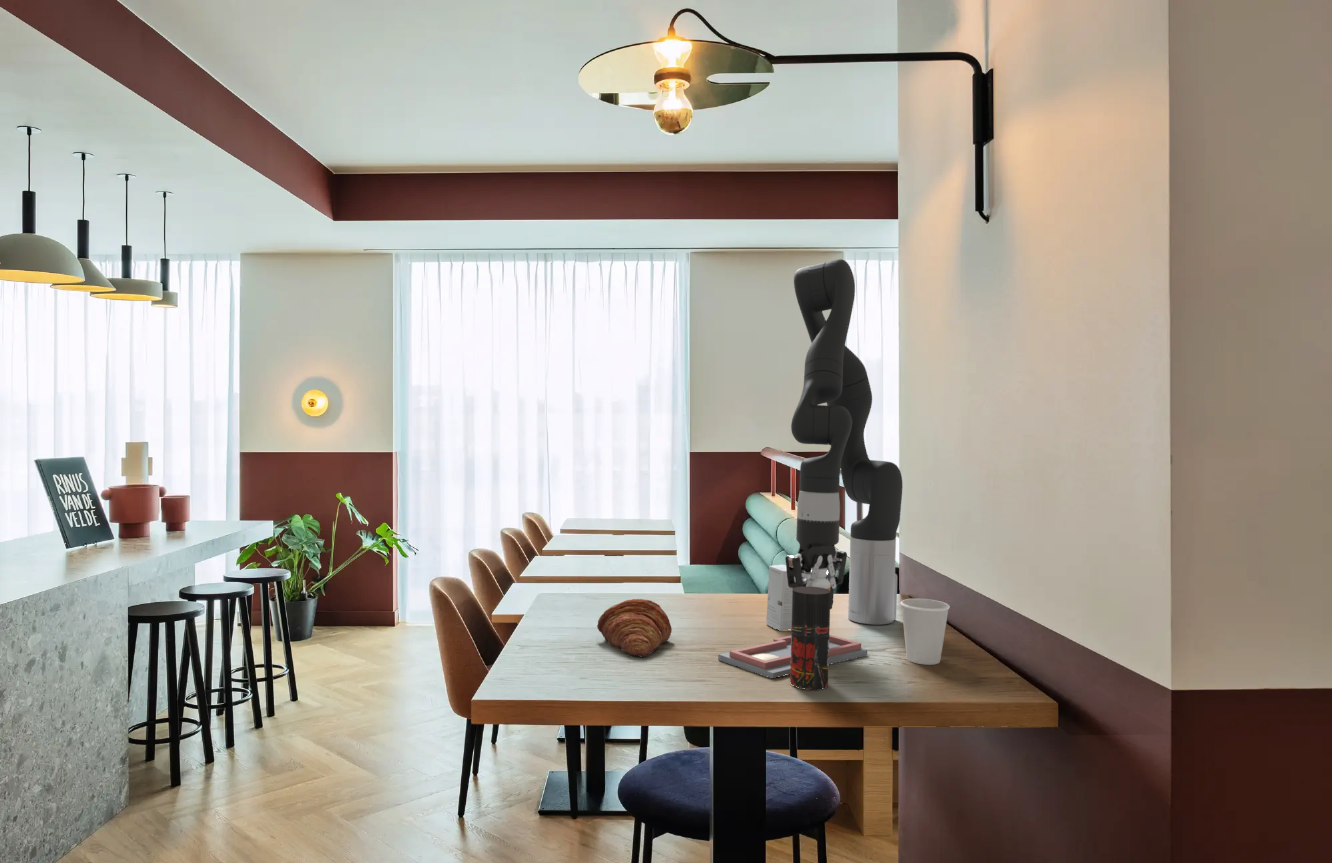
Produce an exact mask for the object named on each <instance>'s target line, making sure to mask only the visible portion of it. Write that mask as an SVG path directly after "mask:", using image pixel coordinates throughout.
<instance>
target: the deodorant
mask: <svg viewBox="0 0 1332 863" xmlns="http://www.w3.org/2000/svg"><path fill="white" fill-rule="evenodd" d="M830 593H831V591H830V590H828V589H825V588H820V587H796V588H793V589H792V628H791V631H790V633H791V634H790V636H791V668H790V675H789V679H790V681H789V683H790V682H791V684H792V685H794V686H797V687H799V688H805V689H809V690H808V691H818V690H817V689H822V688H825V687H826V686H828V687H829V666H830V665H829V635H830V630H831V628H830V626H831V624H830V623H831V622H830V620H831V609H830ZM791 684H790V685H791ZM792 685H791V686H792ZM799 688H798V689H799ZM815 689H816V690H815ZM825 689H826V688H825ZM822 690H823V689H822Z"/></svg>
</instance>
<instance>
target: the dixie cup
mask: <svg viewBox="0 0 1332 863" xmlns="http://www.w3.org/2000/svg"><path fill="white" fill-rule="evenodd" d="M900 606H901V611H902V612H901V614H902V622H903V623H902V624H903V625H902V626H903V634H904V646H905V655H906V657H905V658H906V660H907V661H909V662H910V663H914V664H918V665H927V666H928V665H929V666H931V665H937V664H940V663H941V658H942V651H943V646H944V639H945V633H946V627H947V626H946V625H947V620H948V615H949V614H948V613H949V609H950V608H951V607H950V604H948V603H947V602H944V601H941V600H936V599H930V598H906V599H903V600H901V601H900Z"/></svg>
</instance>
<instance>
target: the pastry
mask: <svg viewBox="0 0 1332 863" xmlns="http://www.w3.org/2000/svg"><path fill="white" fill-rule="evenodd" d="M596 627H597V630H598V631H599V633H601V635H602V637H603V638H604V641H605V642H608V644H609V645H610V646H612V647H614V648H616V649H618V650H622V651H623V653H625V654H627V655H630V656H632V657H641V658H646V657H648V656H650V655H651V653H653V652H656V650H657V649H658V648H660V646H661V645H664V644H665V643H667V641H668V640H669V639H670V638H671V636H672V635H671V634H672V629H673V628H672V625H671V623H670V618H669V617H668V615H667V613H666V612H665V611H664V610H663V609H662V607H661V605H660V604H658V603H656V602H655V601H652V600H649V599H643V598H636V599H635V598H634V599H633V598H632V599H627V600H624V601H621V602H620V603H617V604H614V605H612V606H610V607H609V608H608V609H606V610H605V611H604V612H603V613H602V615H600V617H599V618H598V621H597V625H596Z"/></svg>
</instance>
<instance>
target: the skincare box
mask: <svg viewBox="0 0 1332 863" xmlns="http://www.w3.org/2000/svg"><path fill="white" fill-rule="evenodd" d="M794 581H795V582H796V580H795V577H794ZM767 583H768V586H767V600H766V601H767V604H766V605H767V606H766V619H765V620H766V626H769V627H771V628H772V627H773V629H774V630H776V629H778V630H779V632H784V631H783V630H788V629H791V628H792V589H793V588H790V587H789V586H788V579H787V569H786V564H776V565H775V564H773V565H769V567H768V582H767ZM778 630H777V631H778Z"/></svg>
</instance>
